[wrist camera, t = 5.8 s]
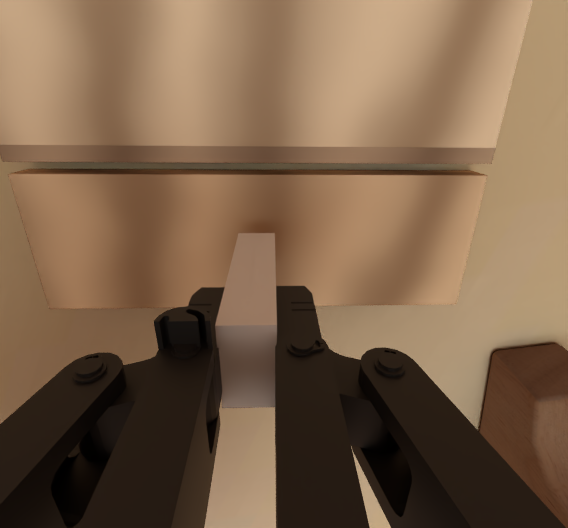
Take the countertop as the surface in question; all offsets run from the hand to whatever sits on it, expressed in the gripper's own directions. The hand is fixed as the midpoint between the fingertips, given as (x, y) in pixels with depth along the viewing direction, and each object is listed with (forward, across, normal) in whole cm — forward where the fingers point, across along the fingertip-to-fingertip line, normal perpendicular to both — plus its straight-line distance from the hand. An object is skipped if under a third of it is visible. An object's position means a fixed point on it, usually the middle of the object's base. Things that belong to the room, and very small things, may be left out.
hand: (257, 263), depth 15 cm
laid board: (+4, 0, +7) cm, 8 cm away
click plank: (+4, 0, 0) cm, 4 cm away
